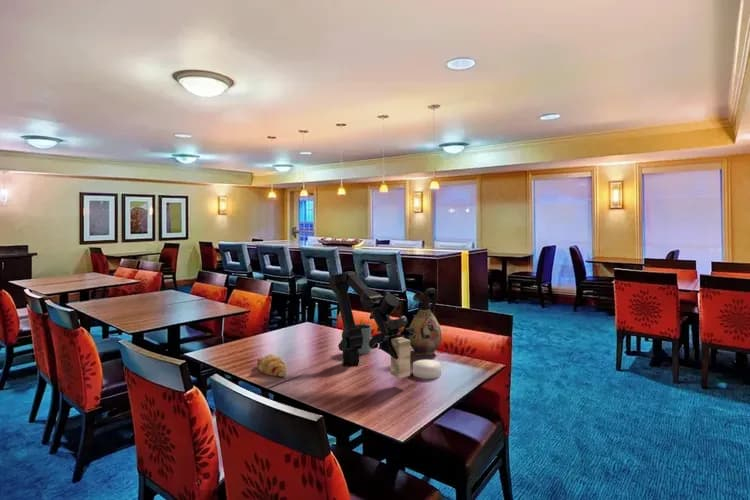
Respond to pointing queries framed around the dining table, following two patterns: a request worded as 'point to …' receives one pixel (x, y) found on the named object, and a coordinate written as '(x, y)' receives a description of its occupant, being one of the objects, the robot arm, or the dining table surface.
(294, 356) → the dining table surface
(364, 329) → the grey cup
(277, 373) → the croissant
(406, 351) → the maple block
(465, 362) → the dining table surface
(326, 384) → the dining table surface
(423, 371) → the cream plinth
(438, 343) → the ceramic jug
